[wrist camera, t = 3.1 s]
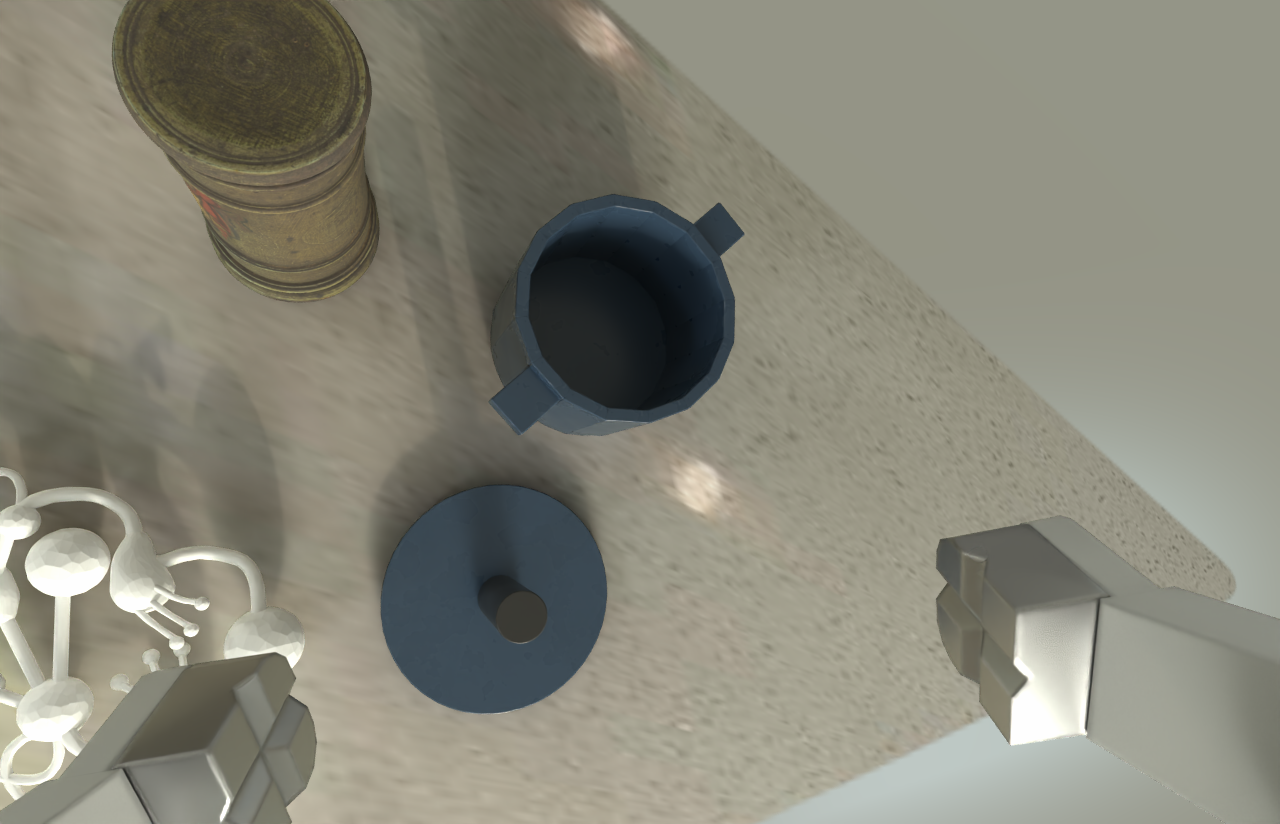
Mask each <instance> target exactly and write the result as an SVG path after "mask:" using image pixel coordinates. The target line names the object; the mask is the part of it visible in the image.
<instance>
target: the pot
mask: <svg viewBox="0 0 1280 824" xmlns="http://www.w3.org/2000/svg"><path fill="white" fill-rule="evenodd" d="M743 235H744V232H743V231H742V230H741V228H740V227H739V226H738V225H737V223H736V222H735V221H734V220H733V218H732V217H731V216H730V215H729V213H728V212H727V211H726V210H725V208H724V207H723V206H722V205H721V203H717V204H716V205H715V206H714V207H713V208H712V209H710V210H709V211H708V212H707V213H706V214H705V215H703V216H702V217H701V218H700V219H699V220H698V221H697V222H695V223H694V224H692V223H691V222H689V221H688V220H686V219H684V218H683V217H681V216H679V215H678V214H676V213H674V212H673V211H671V210H669V209H668V208H666V207H664V206H663V205H661V204H659V203H658V202H655V201H651V200H645V199H639V198H633V197H627V196H621V195H615V194H611V195H607V196H603V197H599V198H594V199H590V200H586V201H582V202H578V203H574V204H571V205H569V206H568V207H567V208H566V209H564V210H563V211H562V212H561V213H559V214H558V215H557V216H556V217H554V218H553V219H552V220H550V221H549V222H548V223H547V224H545V225H544V226H543V227H542V228H540V229H539V230H538V231H537V233H536V234H535V236H534V238H533V239H532V241H531V243H530V244H529V246H528V248H527V250H526V251H525V253H524V255H523V256H522V258H521V260H520V261H519V263H518V265H517V266H516V268H515V270H514V272H513V273H512V275H511V277H510V278H509V280H508V282H507V284H506V286H505V288H504V290H503V292H502V294H501V296H500V298H499V300H498V302H497V304H496V306H495V308H494V310H493V319H492V326H491V352H492V356H493V360H494V364H495V367H496V370H497V373H498V375H499V377H500V380H501V382H502V383H503V385H504V388H503V389H502V390H501V391H499V392H498V393H497V394H496V395H495V396H494V397H493V398H491V399H490V400H489V404H490V405H491V406H492V407H493V408H494V409H495V410H496V411H497V413H498V414H499V415H500V416H501V417H502V418H503V419H504V420H505V421H506V423H507V424H508V425H509V426H510V427H511V428H512V429H513V430H514V431H515V433H516V434H517V435H521V434H523V433H524V432H525V431H527V430H528V429H529V428H530V427H531V426H532V425H533V424H534V423H535V422H537V421H539V422H540V423H542V424H544V425H546V426H548V427H550V428H553V429H555V430H557V431H561V432H563V433H566V434H575V435H595V436H603V435H607V434H611V433H615V432H619V431H622V430H626V429H630V428H634V427H638V426H641V425H645V424H649V423H652V422H655V421H657V420H660V419H663V418H666V417H668V416H671V415H674V414H676V413H679V412H682V411H685V410H687V409H688V408H690V407H691V406H692V405H693V404H694V403H695V402H696V401H697V400H699V399H700V398H701V397H702V396H703V395H704V394H705V393H706V392H707V391H708V390H709V389H710V388H711V387H712V386H713V385H714V384H715V383H716V382H717V381H718V379H719V378H720V375H721V373H722V370H723V368H724V366H725V363H726V361H727V358H728V356H729V353H730V351H731V349H732V346H733V344H734V326H735V297H734V295H733V292H732V289H731V286H730V283H729V280H728V277H727V275H726V272H725V269H724V266H723V263H722V260H721V258H720V256H721V255H722V254H723V253H725V252H726V251H727V250H728V249H729V248H730V247H731V246H732V245H733V244H735V243H736V242H737V241H738V240H739V239H740V238H741V237H742V236H743Z"/></svg>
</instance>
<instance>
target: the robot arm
mask: <svg viewBox="0 0 1280 824" xmlns="http://www.w3.org/2000/svg"><path fill="white" fill-rule="evenodd" d="M936 569H937V570H938V571H939V572H940V574H941V575H942V576H943V577H944V579H945V580H946V581H947V584H946V586H945V587H944V588H943V590H942V591H941V593H940V594H939V595H938V597H937V598H936V604H937V623H938V627H939V631H940V634H941V638H942V642H943V645H944V647H945V649H946V651H947V654H948V656H949V658H950V660H951V661H952V663H953V664H954V666H955V667H956V669H957V670H958V672H959V673H960V675H962V676H964V677H966V678H968V679H970V680H972V681H974V682H976V683H978V684H980V693H979V702H980V703H981V705H982V706H983V708H984V709H985V711H986V712H987V713H988V715H989V716H990V718H991V719H992V720H993V722H994V723H995V725H996V726H997V727H998V729H999V730H1000V732H1001V733H1002V735H1003V736H1004V737H1005V739H1006V740H1007V742H1008V743H1009V744H1010V746H1011V745H1018V744H1025V743H1032V742H1038V741H1045V740H1051V739H1059V738H1066V737H1072V736H1080V735H1087V736H1086V738H1087V739H1088V740H1090V741H1091V742H1093V743H1095V744H1096V745H1098V746H1100V747H1101V748H1103V749H1104V750H1106V751H1108V752H1109V753H1111V754H1113V755H1114V756H1116V757H1118V758H1119V759H1121V760H1122V761H1124V762H1126V763H1127V764H1129V765H1131V766H1132V767H1134V768H1135V769H1137V770H1139V771H1140V772H1142V773H1144V774H1145V775H1147V776H1149V777H1150V778H1152V779H1153V780H1155V781H1157V782H1158V783H1160V784H1162V785H1163V786H1165V787H1166V788H1168V789H1170V790H1171V791H1173V792H1175V793H1176V794H1178V795H1179V796H1181V797H1183V798H1184V799H1186V800H1188V801H1189V802H1191V803H1193V804H1194V805H1196V806H1197V807H1199V808H1201V809H1202V810H1204V811H1206V812H1207V813H1209V814H1211V815H1212V816H1214V817H1215V818H1217V819H1219V820H1220V821H1222V822H1224V823H1225V824H1280V619H1278V618H1275V617H1271V616H1268V615H1265V614H1262V613H1258V612H1255V611H1252V610H1249V609H1246V608H1243V607H1239V606H1236V605H1233V604H1230V603H1226V602H1223V601H1220V600H1217V599H1214V598H1210V597H1207V596H1204V595H1201V594H1197V593H1194V592H1191V591H1188V590H1185V589H1181V588H1178V587H1175V586H1173V587H1167V588H1159V587H1158V586H1157V585H1156V584H1154V583H1153V582H1152V581H1150V580H1149V579H1148V578H1147V577H1145V576H1144V575H1143V574H1142V573H1140V572H1139V571H1138V570H1136V569H1135V568H1134V567H1133V566H1131V565H1130V564H1129V563H1128V562H1126V561H1125V560H1124V559H1122V558H1121V557H1120V556H1119V555H1117V554H1116V553H1115V552H1114V551H1112V550H1111V549H1110V548H1108V547H1107V546H1106V545H1105V544H1103V543H1102V542H1101V541H1100V540H1098V539H1097V538H1096V537H1094V536H1093V535H1092V534H1091V533H1089V532H1088V531H1087V530H1086V529H1084V528H1083V527H1082V526H1080V525H1079V524H1078V523H1077V522H1075V521H1074V520H1073V519H1071V518H1068V517H1064V516H1055V517H1050V518H1045V519H1040V520H1035V521H1030V522H1026V523H1021V524H1020V525H1015V526H1010V527H1004V528H999V529H994V530H988V531H983V532H977V533H972V534H966V535H961V536H956V537H950V538H945V539H940V542H939V545H938V548H937V558H936ZM295 679H296V677H295V675H294V673H293V671H292V668H291V666H290V664H289V662H288V660H287V658H286V657H285V656H283V655H281V654H279V653H277V652H271V653H265V654H258V655H251V656H245V657H238V658H231V659H224V660H218V661H211V662H204V663H198V664H195V665H185V666H179V667H173V668H168V669H162V670H156V671H153V672H151V673H149V674H147V675H144V676H142V677H141V678H140V679H139V681H138V682H137V683H136V684H135V685H134V687H133V688H132V689H131V690H130V692H129V693H128V694H127V695H126V697H125V698H124V699H123V700H122V701H121V703H120V704H119V705H118V706H117V708H116V709H115V710H114V711H113V713H112V714H111V715H110V716H109V717H108V719H107V720H106V721H105V722H104V724H103V725H102V726H101V727H100V728H99V730H98V731H97V732H96V733H95V735H94V736H93V737H92V738H91V740H90V741H89V742H88V743H87V744H86V746H85V747H84V748H83V749H82V751H81V752H80V753H79V754H78V755H77V757H76V758H75V759H74V760H73V762H72V763H71V764H70V765H69V767H68V768H67V769H66V770H65V771H64V773H63V774H62V775H61V776H60V778H59V779H56V780H50V781H45V782H43V783H41V784H40V785H38V786H37V787H35V788H34V789H32V790H31V791H29V792H28V793H26V794H25V795H23V796H22V797H20V798H19V799H17V800H16V801H14V802H13V803H11V804H10V805H8V806H7V807H5V808H4V809H2V810H1V811H0V824H291V823H292V821H291V819H290V816H289V814H288V812H287V809H286V807H287V806H288V805H289V804H290V803H291V802H292V801H293V800H294V799H295V798H296V797H297V796H298V795H299V794H300V793H301V792H303V791H304V790H305V789H306V787H307V784H308V782H309V779H310V776H311V774H312V771H313V769H314V763H315V754H316V745H317V740H316V733H315V727H314V722H313V719H312V717H311V714H310V712H309V709H308V707H307V706H306V705H304V704H303V703H301V702H300V701H298V700H297V699H295V698H294V697H292V696H291V695H289V694H290V691H291V689H292V687H293V684H294V682H295Z"/></svg>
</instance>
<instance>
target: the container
mask: <svg viewBox="0 0 1280 824" xmlns="http://www.w3.org/2000/svg"><path fill="white" fill-rule="evenodd" d="M112 64H113V71H114V75H115V80H116V83H117V86H118V90H119V92H120V95H121V97H122V99H123V101H124V103H125V105H126V107H127V109H128V110H129V112H130V114H131V115H132V117H133V118H134V120H135V121H136V123H137V124H138V125H139V127H140V128H141V129H142V130H143V131H144V132H145V134H146V135H147V136H148V137H149V138H150V139H151V140H152V141H153V142H154V143H155V144H156V145H157V146H158V147H160V148H161V149H162V150H163V152H164V154H165V156H166V157H167V159H168V161H169V162H170V163H171V165H172V166H173V167H174V168H175V170H176V171H177V172H178V173H179V174H180V175H181V176H182V178H183V179H184V181H185V183H186V184H187V186H188V188H189V189H190V191H191V192H192V194H193V196H194V197H195V199H196V201H197V203H198V204H199V206H200V208H201V210H202V214H203V216H204V219H205V221H206V227H207V231H208V234H209V237H210V239H211V241H212V244H213V247H214V249H215V251H216V253H217V255H218V257H219V259H220V260H221V262H222V263H223V265H224V266H225V267H226V269H227V270H228V271H229V272H230V273H231V274H232V275H233V276H234V277H235V278H236V279H237V280H238V281H240V282H241V283H242V284H244V285H245V286H247V287H248V288H250V289H251V290H253V291H255V292H257V293H259V294H261V295H264V296H266V297H269V298H273V299H276V300H281V301H287V302H312V301H318V300H322V299H325V298H329V297H331V296H334V295H336V294H338V293H340V292H342V291H344V290H345V289H347V288H348V287H350V286H351V285H352V284H354V283H355V282H356V281H357V280H358V279H359V278H360V277H361V276H362V275H363V274H364V272H365V271H366V270H367V268H368V267H369V265H370V264H371V262H372V260H373V258H374V255H375V253H376V249H377V245H378V240H379V218H378V213H377V208H376V203H375V199H374V196H373V193H372V191H371V188H370V185H369V181H368V178H367V175H366V172H365V159H364V144H365V135H366V126H365V125H366V122H367V119H368V116H369V112H370V107H371V96H372V88H371V79H370V73H369V68H368V65H367V61H366V58H365V55H364V53H363V50H362V48H361V46H360V44H359V42H358V40H357V38H356V36H355V34H354V33H353V31H352V30H351V28H350V27H349V25H348V24H347V22H346V21H345V20H344V18H343V17H342V16H341V15H340V14H339V12H338V11H337V10H336V9H335V8H334V7H333V6H332V5H331V4H330V3H329V2H328V1H327V0H128V2H127V3H126V5H125V6H124V8H123V10H122V12H121V14H120V17H119V19H118V22H117V25H116V27H115V31H114V36H113V43H112Z"/></svg>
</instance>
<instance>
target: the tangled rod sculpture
mask: <svg viewBox="0 0 1280 824" xmlns="http://www.w3.org/2000/svg"><path fill="white" fill-rule="evenodd" d="M0 476H7V477H8V478H10V479H11V480H12V481H13V483H14V485H15V488H16V503H15V505H12V506H9V507H7V508H6V509H4V510H2V511H1V512H0V626H1V628H2V630H3V632H4V634H5V636H6V638H7V640H8V642H9V644H10V646H11V648H12V650H13V652H14V654H15V656H16V658H17V660H18V662H19V664H20V666H21V668H22V670H23V672H24V674H25V676H26V678H27V680H28V682H29V684H30V686H31V688H32V689H30V690H29V691H28V692H27V693H26V694H25V695H21V694H18V693H15V692H13V691H10V690H7V689H5V683H6V680H5V678H4V677H3V676H2V674H1V673H0V702H1V703H4V704H7V705H10V706H13V707H15V708H17V716H16V722H17V725H18V726H19V728H20V729H21V731H22V732H23V734H21V735H19V736H18V737H17V738H15V739H14V740H13V741H12V742H10V743H9V744H8V746H7V747H6V749H5V750H4V752H3V754H2V757H1V761H0V782H3V783H4V786H5V788H6V789H7V791H8V792H9V793H10V794H11V796H12V797H13V798H14V799H15V801H16V800H17V799H19V798H20V797H22V796H23V795H25V794H26V792H25V791H24V790H23V788H22V787H21V786H20V785H33V784H38V783H43V782H44V781H46V780H48V779H50V778H52V777H53V776H54V775H55V774H56V772H57V771H58V770H59V769H60V767H61V764H62V761H63V758H64V755H65V747H66V748H67V749H68V751H69V752H71V753H73V754H74V755H76V756H77V755H78V754H79V753H80V752H81V751H82V749H83V748H84V747H85V746H86V744H87V743H88V741H86V740H85V739H84V738H83V737H82V736H81V734H80V733H79V732H78V730H79V729H80V728H81V727H82V726H83V725H84V724H85V722H86V721H87V720H88V719H89V717H90V715H91V713H92V710H93V707H94V697H93V693H92V691H91V689H90V687H89V686H88V685H87V684H86V683H85V682H83V681H82V680H81V679H77V678H73V677H70V676H68V662H69V629H70V596H73V595H76V594H80V593H84V592H86V591H88V590H89V589H91V588H92V587H94V586H95V585H97V584H98V583H99V582H100V581H101V580H102V579H103V578H104V576H105V574H106V572H107V571H108V568H109V565H110V551H109V549H108V546H107V544H106V543H105V542H104V540H103V539H102V538H101V537H100V536H98V535H97V534H95V533H93V532H91V531H89V530H85V529H80V528H66V529H59V530H57V531H55V532H52V533H50V534H47V535H45V536H43V537H42V538H41V539H40V540H38V541H37V542H36V543H35V544H34V545H33V546H32V547H31V549H30V551H29V553H28V555H27V557H26V561H25V570H26V574H27V578H28V580H29V581H30V583H31V584H32V585H33V586H34V587H35V588H37V589H38V590H39V591H41V592H43V593H45V594H48V595H52V596H55V619H54V650H53V678H50V679H47V680H46V679H45V677H44V675H43V673H42V671H41V669H40V667H39V665H38V663H37V661H36V659H35V657H34V655H33V653H32V651H31V649H30V647H29V645H28V643H27V641H26V639H25V637H24V635H23V633H22V631H21V629H20V627H19V625H18V623H17V621H16V619H15V616H16V615H17V610H18V605H19V600H20V592H19V588H18V586H17V584H16V582H15V580H14V578H13V575H12V573H11V572H10V571H9V570H8V569H7V568H6V563H7V560H8V557H9V554H10V551H11V547H12V544H13V541H14V539H24V538H26V537H29V536H31V535H32V534H34V533H35V532H36V531H37V530H38V529H39V527H40V524H41V517H40V514H39V513H38V511H37V510H36V508H39V507H42V506H45V505H48V504H51V503H54V502H66V501H88V502H96V503H98V504H101V505H103V506H106V507H107V508H109V509H110V510H112V511H113V512H115V513H116V514H118V516H119V517H120V518H121V519H122V521H123V523H124V526H125V530H126V537H125V538H124V539H123V541H122V542H121V544H120V545H119V547H118V548H117V550H116V552H115V554H114V556H113V559H112V563H111V573H110V595H111V597H112V599H113V601H114V602H115V604H116V605H117V606H118V607H120V608H121V609H123V610H125V611H128V612H132V613H136V614H137V615H138V616H139V617H140V618H141V619H142V620H143V621H144V622H146V623H147V624H149V625H150V626H151V627H153V628H154V629H156V630H157V631H158V632H160V633H161V634H163V635H164V636H165V637H167V638H168V639H170V641H169V646H170V648H172V649H174V650H173V653H174V655H175V656H176V657H178V659H179V666H185V665H188V663H187V657H186V656H187V655H188V653H189V652H190V650H191V647H190V644H188V643H187V642H184V639H183V637H181V636H176V635H175V634H174V633H172V632H171V631H169V630H168V629H166V628H165V627H163V626H162V625H160V624H159V623H158V622H156V621H155V620H154V619H153V618H151V617H150V616H149V615H148V614H147V612H151V611H153V610H157V611H158V612H160V613H161V614H163V615H165V616H166V617H168V618H170V619H171V620H173V621H174V622H176V623H178V624H179V625H181V626H183V627H184V631H183V632H184V634H185V635H186V636H189V637H192V636H195V635H196V634H197V633H198V631H199V626H198V625H197V624H195V623H190V622H188V621H186V620H184V619H183V618H181V617H179V616H178V615H176V614H174V613H173V612H171V611H170V610H168V609H167V608H165V607H164V606H162V605H163V604H164V603H165V602H167V601H168V599H171V600H174V601H177V602H180V603H184V604H192V605H194V606H195V608H196V609H198V610H205V609H206V608H208V606H209V604H210V601H209V599H208V598H206V597H199V598H198V599H194V598H186V597H183V596H180V595H178V594H175V593H174V591H175V588H176V586H175V583H174V580H173V578H172V576H171V574H170V572H169V570H168V569H167V567H169V566H172V565H175V564H178V563H181V562H185V561H190V560H196V559H206V560H217V561H222V562H225V563H229V564H233V565H236V566H237V567H239V568H240V569H241V570H242V571H243V572H244V574H245V576H246V577H247V580H248V584H249V588H250V597H251V611H249V612H247V613H245V614H244V615H242V616H241V617H240V618H239V619H238V620H237V621H236V622H235V623H234V624H233V625H232V626H231V628H230V629H229V631H228V633H227V635H226V638H225V642H224V658H225V659H231V658H238V657H245V656H251V655H258V654H265V653H271V652H277V653H279V654H281V655H283V656H285V657H286V658H287V660H288V662H289V664H290V666H291V668H292V667H293V666H294V665H295V664H296V663H297V661H298V660H299V658H300V657H301V654H302V652H303V649H304V645H305V637H304V629H303V627H302V625H301V622H300V621H299V620H298V618H297V617H296V616H295V615H293V614H292V613H291V612H289V611H287V610H285V609H282V608H278V607H266V593H265V585H264V581H263V577H262V573H261V572H260V570H259V568H258V566H257V565H256V563H255V562H254V561H253V560H252V559H251V558H250V557H248V556H247V555H246V554H244V553H241V552H238V551H236V550H232V549H227V548H222V547H217V546H191V547H185V548H180V549H177V550H174V551H171V552H168V553H165V554H161V555H157V554H156V551H155V548H154V545H153V542H152V541H151V539H150V537H149V535H148V534H147V533H145V532H143V531H142V524H141V521H140V518H139V516H138V514H137V513H136V511H135V510H134V509H133V508H132V506H131V505H129V504H128V503H127V502H125V501H124V500H122V499H121V498H119V497H118V496H116V495H114V494H112V493H110V492H107V491H105V490H102V489H97V488H90V487H62V488H55V489H49V490H43V491H40V492H37V493H34V494H31V495H30V496H28V497H27V486H26V484H25V481H24V479H23V477H22V475H20V474H19V473H18V472H17V471H15V470H12V469H9V468H5V467H1V468H0ZM159 658H160V652H159V651H158V650H157V649H149V650H147V651H145V652H144V654H143V655H142V659H143V662H144V663H145V664H148V665H149V666H150V669H151V672H153V671H156V670H160V669H159V667H158V664H157V661H158V660H159ZM128 682H129V678H128V677H127V675H125V674H117V675H115V676H114V677H113V678H112V679H111V681H110V686H111V688H112V689H114V690H123V691H125V692H126V693H129V692H130V690H131V689H132V688H133V687H134V686H132V685H130V684H129V683H128ZM30 740H37V741H47V742H51V741H53V752H54V755H53V759H52V762H51V765H50V766H49V767H48V768H47V769H46V770H45V771H43V772H41V773H38V774H32V775H21V774H15V773H14V772H13V769H12V760H13V757H14V753H15V752H16V751H17V750H18V748H20V747H21V746H22V745H23V744H24V743H25V742H27V741H30Z"/></svg>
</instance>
